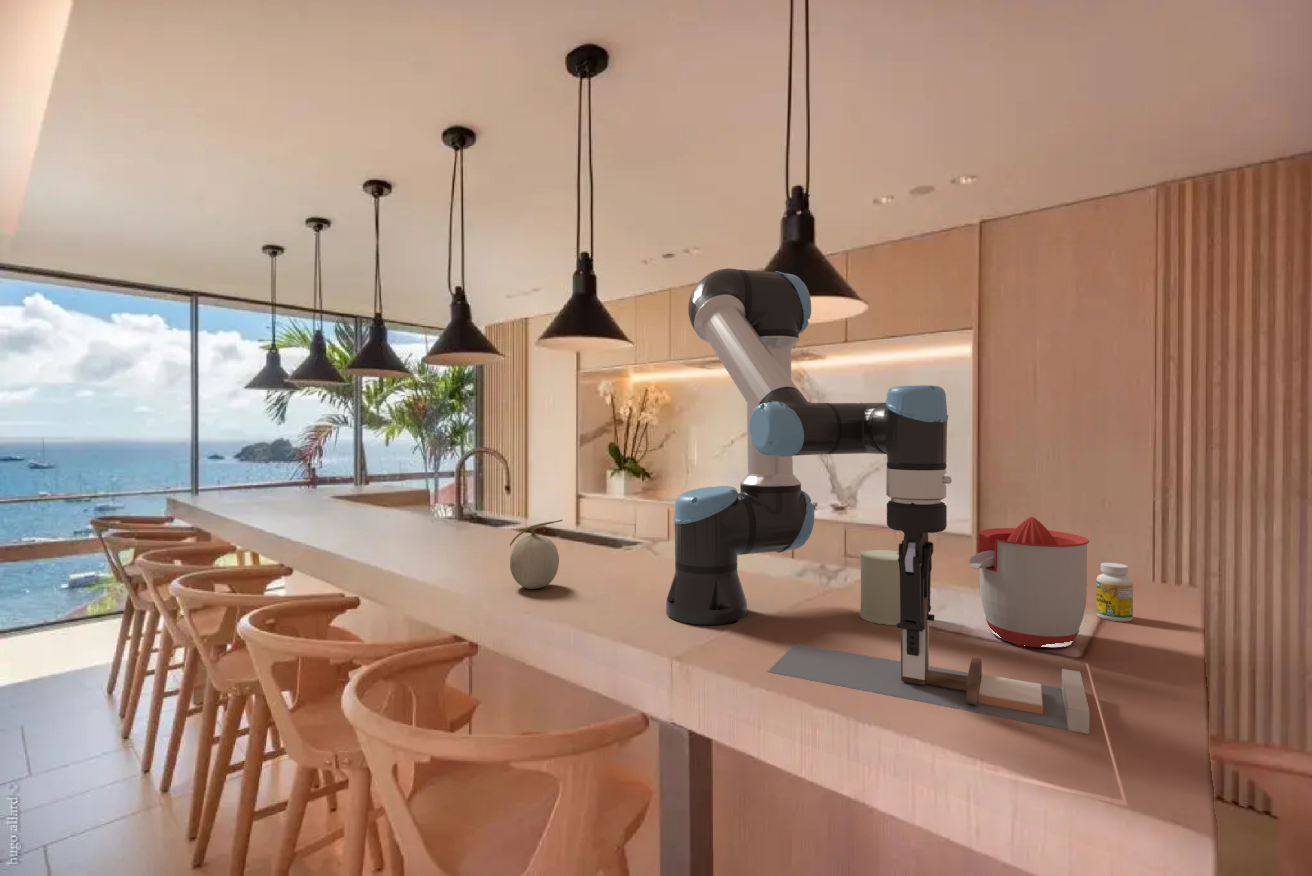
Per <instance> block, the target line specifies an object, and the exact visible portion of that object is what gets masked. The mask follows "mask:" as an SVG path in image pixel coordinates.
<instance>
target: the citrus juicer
mask: <svg viewBox="0 0 1312 876" xmlns="http://www.w3.org/2000/svg"><path fill="white" fill-rule="evenodd" d="M1089 543H1090V540H1089V539H1088V538H1087V537H1085V536H1082V535H1079V534H1074V533H1068V532H1063V531H1056V530H1049V529H1047V528H1046V527H1045V525H1043V523H1042V522H1040V521H1039V520H1038V519H1037V518H1035V517H1033V516H1030V517H1028V518H1025V520H1023V521H1022V522H1021V523H1019V525H1018V526H1017V527H1002V528H1001V527H998V528H986V529H982V530H980V531H978V534H977V553H976V554H973V555H971V556H970V557H969V561H968V562H969V563H968V564H969V567H971V568H972V569H974V570H976V569H977V570H979V588H980V589H979V590H980V598H981V599H980V600H981V603H982V608H983V612H984V614H985V621H986V623H987V626H988V625H989V626H988V628H989V627H990V628H991V629H992V630H993V631H994V632H995V633H997V634H998V635H999V636H1000V637H1001V638H1002V639H1001V640H1002V641H1003V640H1004V641H1005V642H1009V643H1011V644H1014V643H1015V644H1014V645H1015V646H1018V647H1021V648H1022V647H1023V648H1027V647H1026V646H1029V647H1031V648H1039V649H1040V648H1041V646H1042V645H1046V644H1055V643H1064V642H1070V641H1074V642H1075V640H1076V638H1077V636H1078V634H1079V632H1080V628H1081V624H1082V622H1083V619H1084V616H1085V615H1084V614H1085V610H1086V606H1087V596H1088V595H1087V592H1088V591H1087V587H1088V581H1087V580H1088V577H1087V576H1088V544H1089ZM990 628H989V629H990ZM1024 645H1025V646H1024Z"/></svg>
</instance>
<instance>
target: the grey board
mask: <svg viewBox="0 0 1312 876" xmlns="http://www.w3.org/2000/svg"><path fill="white" fill-rule="evenodd" d="M928 670H932V671H938V672H944V673H950V674H957V675H963V676H968V672H964V671H960V670H955V669H948V668H942V667H936V666H931V665H929V669H928ZM767 673H769V674H770V673H772V674H776V675H780V676H787V677H791V678H797V679H802V680H807V681H812V682H818V683H822V684H827V685H833V686H837V687H838V686H839V687H842V688H848V689H851V690H852V689H854V690H857V691H863V692H869V693H873V694H874V693H875V694H880V695H884V696H889V697H893V698H899V699H905V700H910V701H915V702H921V703H926V704H929V705H936V706H941V707H945V708H951V709H957V710H961V711H966V712H967V711H968V712H970V713H971V712H972V713H976V714H982V715H988V716H993V717H997V718H1004V719H1007V720H1012V721H1013V720H1014V721H1020V722H1024V723H1027V724H1028V723H1029V724H1032V725H1033V724H1035V725H1038V726H1039V725H1040V726H1044V727H1050V728H1055V729H1059V730H1060V729H1061V730H1065V731H1071V732H1075V733H1081V734H1084V735H1085V734H1086V735H1090V708H1089V704H1088V699H1087V695H1086V690H1085V687H1084V682H1083V678H1082V675H1081V671H1079V670H1073V669H1072V670H1071V669H1066V668H1062V669H1061V687H1058V686H1050V685H1043V684H1041V685H1042V698H1043V714H1038V713H1032V712H1027V711H1022V710H1016V709H1011V708H1006V707H1000V706H995V705H989V704H984V703H979V702H978V703H977V705H975V704H970V703H966V691H965V690H959V689H953V688H947V687H942V686H936V685H930V684H925V685H922V684H916V683H910V682H904V681H901V660H894V659H888V658H883V657H876V656H870V655H864V654H859V653H853V652H852V653H851V652H848V651H847V652H846V651H840V650H834V649H828V648H822V647H815V646H811V645H804V644H798V643H794V644H793V645H792V646H791V647H790V649H788V650H787V651H786V652H785V653H784V654H783V655H782V656H781V657H780V658H779V659H778V660H777V661H776V662H775V663H774V664H773V665H772V666H771V667H770V668H769V670H767Z"/></svg>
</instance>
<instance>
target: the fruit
mask: <svg viewBox="0 0 1312 876" xmlns="http://www.w3.org/2000/svg"><path fill="white" fill-rule="evenodd" d="M558 522H563V519H559V520H554V521H548V522H547V521H546V522H540V523H538V524H534V525H531V526H529V527H527V528H525V529H523V530H522V531H520V532H519V533H518V534H517V535H515V536H514V537H513V539H512V540H511V542H510V543H509V546H510V547H511V546H512V545H513V543H514V542H515V541H516V540H517V539H518V538H519V537H520V536H521V535H522V534H524V533H526V532H527V531H529V530H530V534H529V535H527V536H524V537H522V538H521V539H519V540H518V541H517V542H516V544H514V546H513V548H512V550H511V551H510V552H511V553H510V557H509V568H510V569H509V570H510V573H511V575H512V578H513V579H514V581H515V582H516V583H517V584H518V585H520V586H521V587H524V588H526V589H528V590H530V589H531V590H536V589H542V588H545V587H546V586H548V585H550V584H551V583H552V582H553V581H554V578H555V577H556V576H557V573H558V570H559V566H560V556H559V555H560V554H559V552H558V548H557V546H556V545H555V543H554V542H553V540H552V539H550V538H549V537H547V536H544V535H542V534H536V531H535V530H536V529H537V528H540V527H542V526H546V525H550V524H554V523H558Z"/></svg>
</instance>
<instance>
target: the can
mask: <svg viewBox="0 0 1312 876" xmlns="http://www.w3.org/2000/svg"><path fill="white" fill-rule="evenodd" d="M859 557H860V609H859V610H860V611H859V612H860V613H859V617H860V618H861V619H862V620H865V621H866V622H869V623H872V624H878V625H882V624H885V625H884V626H897V623H900V570H899V562H898V558H899V550H893V549H892V550H891V549H870V550H864V551H861V552H860V554H859Z"/></svg>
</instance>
